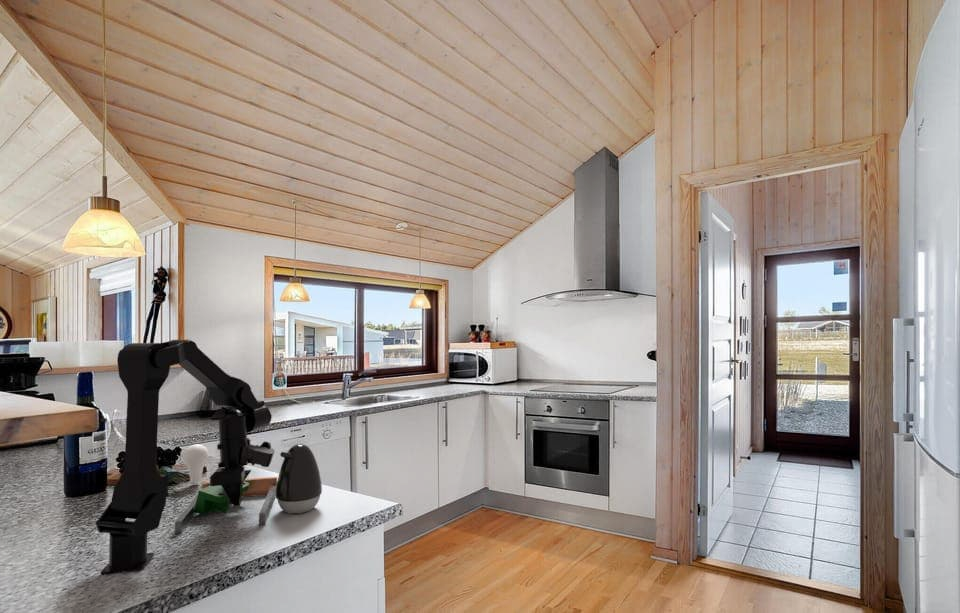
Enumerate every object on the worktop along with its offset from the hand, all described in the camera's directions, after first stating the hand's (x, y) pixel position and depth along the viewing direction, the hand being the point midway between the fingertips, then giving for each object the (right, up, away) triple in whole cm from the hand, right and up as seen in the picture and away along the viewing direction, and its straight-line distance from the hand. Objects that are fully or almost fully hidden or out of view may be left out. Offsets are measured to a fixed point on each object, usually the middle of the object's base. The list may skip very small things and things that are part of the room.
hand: (236, 505), depth 121 cm
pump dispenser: (+13, -2, +3) cm, 14 cm away
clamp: (-5, -3, +4) cm, 7 cm away
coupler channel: (-2, -2, +3) cm, 4 cm away
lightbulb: (-22, -3, +23) cm, 32 cm away
